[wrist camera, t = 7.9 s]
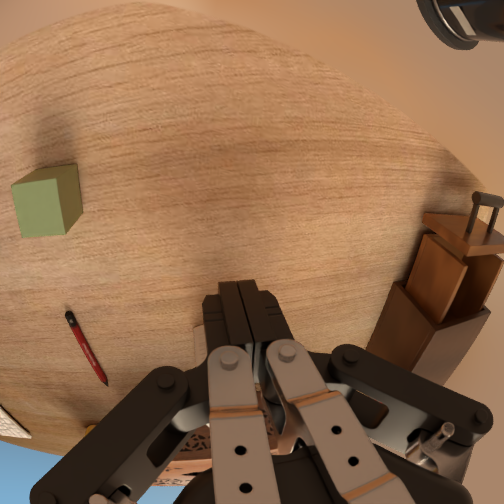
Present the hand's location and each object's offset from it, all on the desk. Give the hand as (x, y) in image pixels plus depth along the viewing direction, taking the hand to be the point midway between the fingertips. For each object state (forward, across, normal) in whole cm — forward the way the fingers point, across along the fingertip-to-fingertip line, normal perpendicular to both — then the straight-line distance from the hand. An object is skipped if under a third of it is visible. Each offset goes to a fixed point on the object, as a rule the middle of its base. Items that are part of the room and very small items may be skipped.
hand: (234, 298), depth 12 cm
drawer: (+13, -29, +7) cm, 32 cm away
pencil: (+15, +16, +19) cm, 29 cm away
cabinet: (+14, -29, +19) cm, 37 cm away
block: (+14, +14, -1) cm, 20 cm away
